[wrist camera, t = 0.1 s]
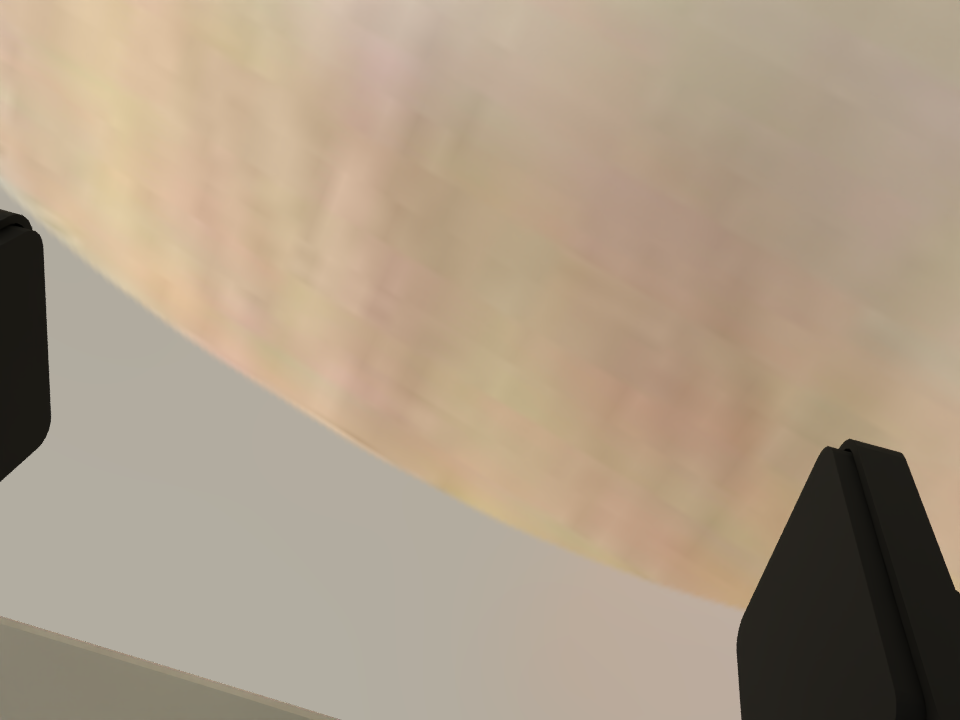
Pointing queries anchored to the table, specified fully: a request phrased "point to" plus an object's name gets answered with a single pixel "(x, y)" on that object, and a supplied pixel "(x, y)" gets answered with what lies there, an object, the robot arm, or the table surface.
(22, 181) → the table surface
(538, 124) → the table surface
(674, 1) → the table surface
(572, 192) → the table surface
